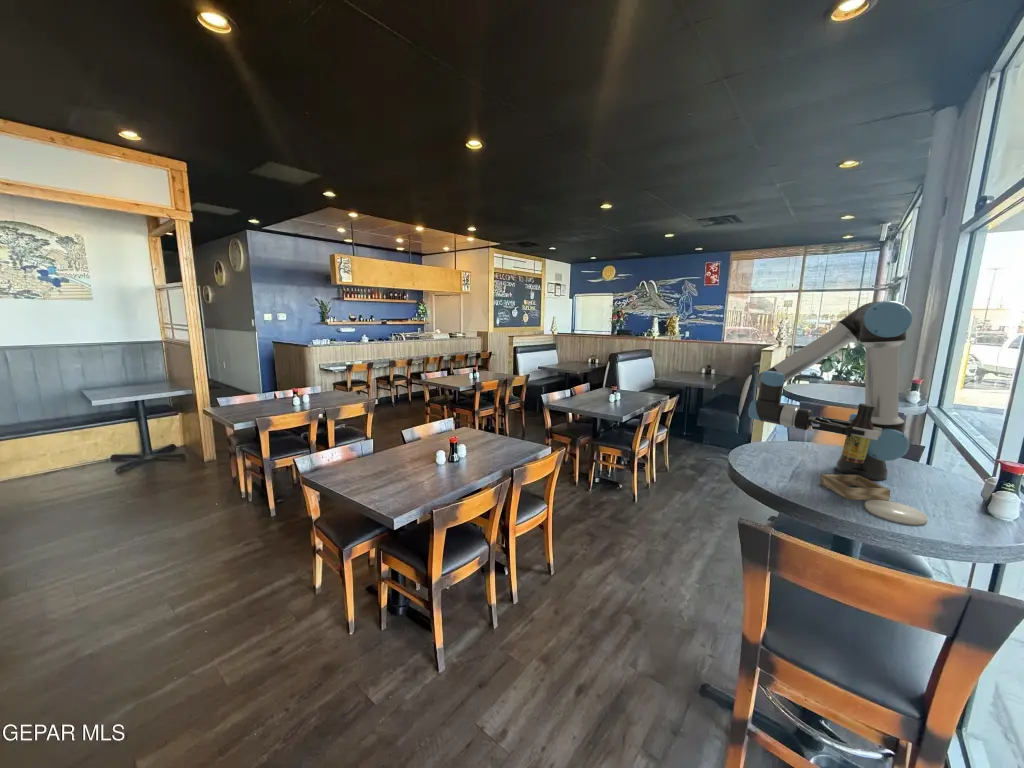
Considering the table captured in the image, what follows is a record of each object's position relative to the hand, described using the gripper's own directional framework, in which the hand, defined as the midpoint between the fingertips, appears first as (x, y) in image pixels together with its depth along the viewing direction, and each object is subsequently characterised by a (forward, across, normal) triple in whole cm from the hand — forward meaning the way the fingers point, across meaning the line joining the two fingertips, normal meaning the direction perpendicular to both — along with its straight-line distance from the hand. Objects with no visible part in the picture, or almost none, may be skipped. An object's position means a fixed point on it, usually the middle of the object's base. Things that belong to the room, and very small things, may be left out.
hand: (879, 434), depth 134 cm
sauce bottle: (-5, 0, -11) cm, 12 cm away
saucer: (+8, +10, -22) cm, 25 cm away
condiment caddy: (-4, -1, -22) cm, 22 cm away
